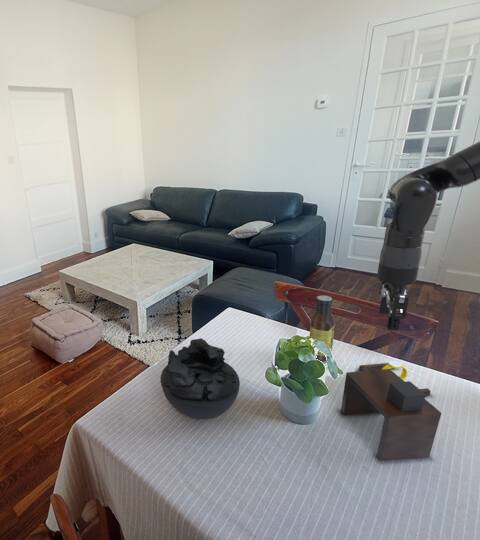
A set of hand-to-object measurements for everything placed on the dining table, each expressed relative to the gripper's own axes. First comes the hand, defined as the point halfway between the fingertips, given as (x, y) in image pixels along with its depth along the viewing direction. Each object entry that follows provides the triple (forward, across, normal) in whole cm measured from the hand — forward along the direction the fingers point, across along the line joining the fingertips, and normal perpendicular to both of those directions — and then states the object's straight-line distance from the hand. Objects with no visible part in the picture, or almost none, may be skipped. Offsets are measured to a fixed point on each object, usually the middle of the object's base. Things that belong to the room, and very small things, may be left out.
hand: (388, 320), depth 87 cm
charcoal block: (+7, -24, +1) cm, 25 cm away
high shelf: (+19, -20, +3) cm, 28 cm away
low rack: (+19, 0, -3) cm, 19 cm away
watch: (+19, 0, -3) cm, 19 cm away
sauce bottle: (+19, +8, +13) cm, 24 cm away
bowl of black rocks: (+19, -25, +43) cm, 54 cm away
